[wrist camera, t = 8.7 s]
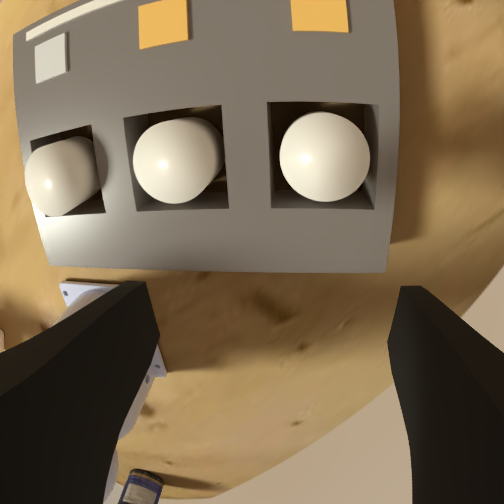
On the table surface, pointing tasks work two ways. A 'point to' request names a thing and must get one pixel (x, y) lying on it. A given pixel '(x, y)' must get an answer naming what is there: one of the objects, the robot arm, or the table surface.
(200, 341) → the table surface
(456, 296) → the table surface
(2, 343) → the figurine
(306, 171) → the button
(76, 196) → the button
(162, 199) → the button middle
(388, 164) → the switch console
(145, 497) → the pill bottle
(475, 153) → the table surface
